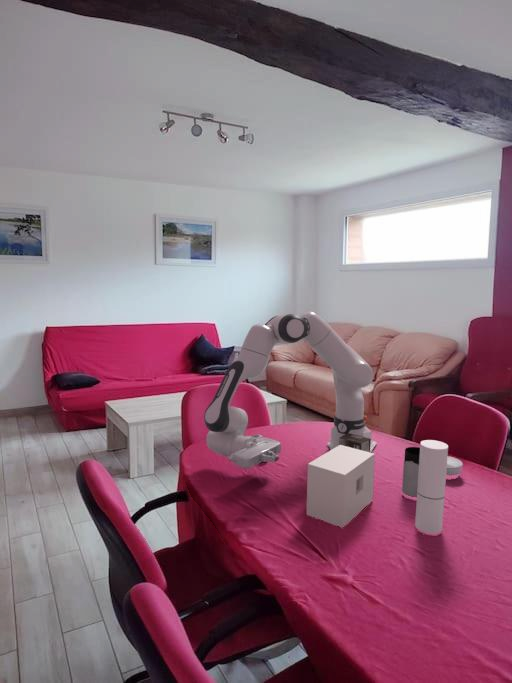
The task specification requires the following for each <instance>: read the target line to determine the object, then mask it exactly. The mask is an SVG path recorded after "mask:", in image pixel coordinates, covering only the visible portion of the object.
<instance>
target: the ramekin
mask: <svg viewBox="0 0 512 683" xmlns="http://www.w3.org/2000/svg"><path fill="white" fill-rule="evenodd" d="M463 466H464V465H463V461H461V460H460V459H458V458H456V457H453V456H447V470H446V475H449V476H450V475H451V476H452V475H457V474H459V473H460V474H462V473H461V472H462V468H463Z"/></svg>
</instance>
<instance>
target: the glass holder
mask: <svg viewBox="0 0 512 683" xmlns="http://www.w3.org/2000/svg"><path fill="white" fill-rule="evenodd" d="M419 457H420V446H419V447H418V446H408V447H406V448H405V449H404V461H403V468H402V486H401V490H402V492H403V493H404V494H406V495H408V496H411V497H417V489H418V473H419Z"/></svg>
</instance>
